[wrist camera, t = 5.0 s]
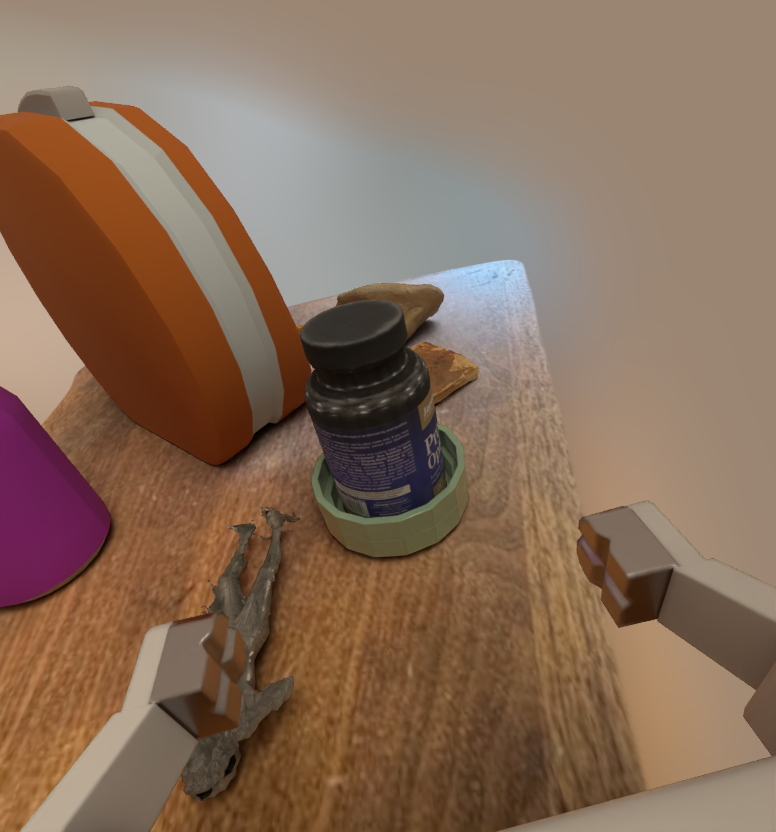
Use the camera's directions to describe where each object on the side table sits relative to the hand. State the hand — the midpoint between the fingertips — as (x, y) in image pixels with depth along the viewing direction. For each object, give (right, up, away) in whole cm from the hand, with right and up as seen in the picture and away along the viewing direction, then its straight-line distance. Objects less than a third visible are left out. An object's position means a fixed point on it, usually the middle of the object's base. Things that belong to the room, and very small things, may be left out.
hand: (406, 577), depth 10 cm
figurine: (-7, -7, +11) cm, 14 cm away
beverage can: (-21, -5, +18) cm, 28 cm away
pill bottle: (0, -1, +16) cm, 16 cm away
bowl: (0, -1, +16) cm, 16 cm away
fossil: (0, +11, +33) cm, 35 cm away
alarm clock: (-15, +4, +28) cm, 33 cm away
